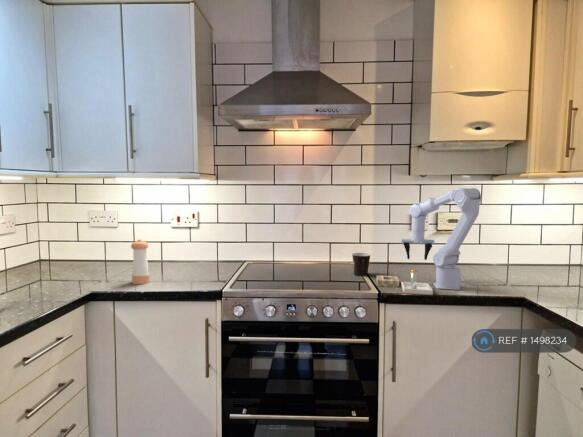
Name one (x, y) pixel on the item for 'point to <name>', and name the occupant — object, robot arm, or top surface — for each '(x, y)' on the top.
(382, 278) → the block
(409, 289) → the tray
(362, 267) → the coffee mug
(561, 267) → the top surface
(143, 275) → the pepper shaker
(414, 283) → the pin
